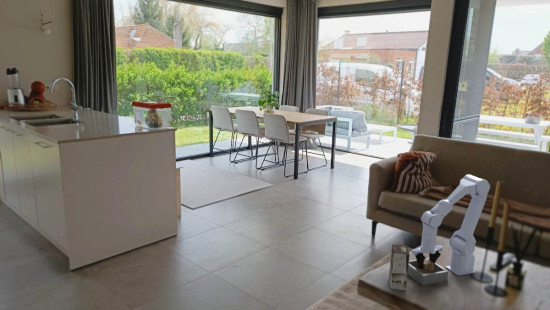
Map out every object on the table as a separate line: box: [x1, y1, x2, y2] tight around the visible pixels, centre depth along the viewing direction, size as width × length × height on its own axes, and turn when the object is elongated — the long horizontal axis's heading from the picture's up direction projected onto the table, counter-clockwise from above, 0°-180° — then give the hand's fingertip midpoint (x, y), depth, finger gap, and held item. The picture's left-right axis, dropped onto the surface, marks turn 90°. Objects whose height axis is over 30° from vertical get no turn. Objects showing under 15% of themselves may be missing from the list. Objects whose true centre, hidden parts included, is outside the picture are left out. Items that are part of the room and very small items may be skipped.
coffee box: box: [388, 243, 411, 291], centre depth 166 cm, size 9×6×16 cm
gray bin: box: [407, 257, 449, 286], centre depth 174 cm, size 13×13×4 cm
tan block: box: [418, 259, 434, 274], centre depth 174 cm, size 4×4×6 cm
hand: (425, 267), depth 174 cm, fingers open, 5 cm apart
